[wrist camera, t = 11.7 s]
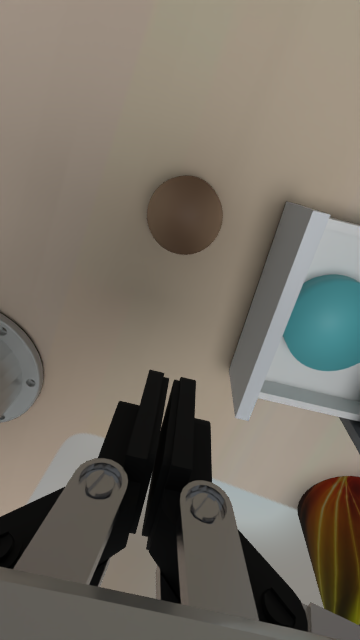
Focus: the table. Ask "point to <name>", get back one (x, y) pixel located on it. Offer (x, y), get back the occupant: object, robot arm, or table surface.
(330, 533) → the mug
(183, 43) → the table surface
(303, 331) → the disc
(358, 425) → the housing
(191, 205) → the brown short rounded cylinder
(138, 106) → the table surface
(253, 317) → the grey drawer
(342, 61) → the table surface
